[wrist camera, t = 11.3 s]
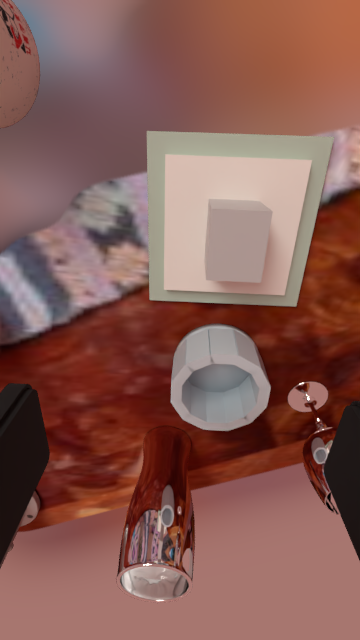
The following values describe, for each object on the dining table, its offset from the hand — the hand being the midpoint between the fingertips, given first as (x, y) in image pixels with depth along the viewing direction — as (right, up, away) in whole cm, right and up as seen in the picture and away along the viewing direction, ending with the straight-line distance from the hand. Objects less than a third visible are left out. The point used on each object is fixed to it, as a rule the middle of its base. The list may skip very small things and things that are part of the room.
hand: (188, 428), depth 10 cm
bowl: (+4, -1, +24) cm, 25 cm away
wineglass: (+14, -5, +26) cm, 30 cm away
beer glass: (-2, -12, +31) cm, 33 cm away
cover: (+4, +11, +17) cm, 21 cm away
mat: (+4, +11, +18) cm, 21 cm away
